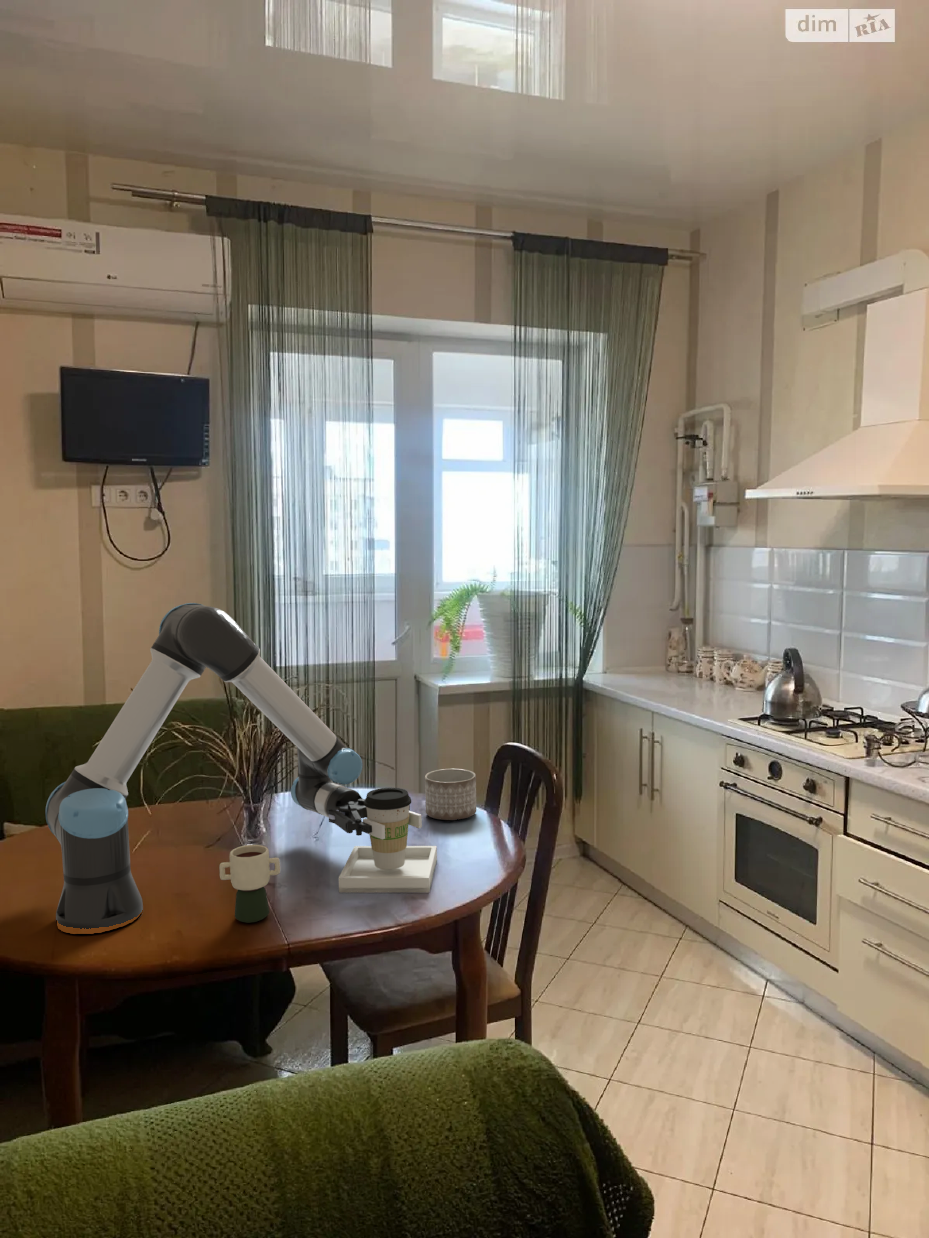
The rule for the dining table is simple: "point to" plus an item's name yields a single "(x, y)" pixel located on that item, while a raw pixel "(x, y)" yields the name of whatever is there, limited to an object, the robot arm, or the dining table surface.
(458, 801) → the planter
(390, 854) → the coffee cup
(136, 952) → the dining table surface
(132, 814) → the dining table surface
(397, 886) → the tray
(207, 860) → the dining table surface
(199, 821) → the dining table surface
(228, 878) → the character mug
